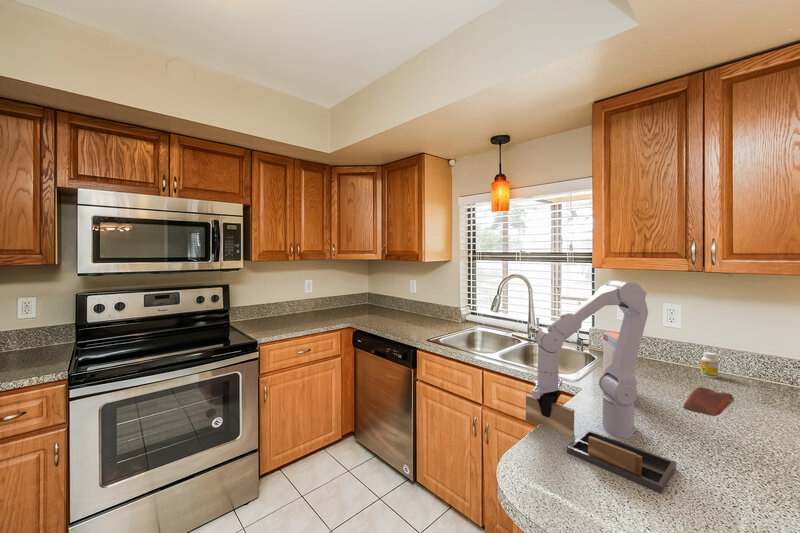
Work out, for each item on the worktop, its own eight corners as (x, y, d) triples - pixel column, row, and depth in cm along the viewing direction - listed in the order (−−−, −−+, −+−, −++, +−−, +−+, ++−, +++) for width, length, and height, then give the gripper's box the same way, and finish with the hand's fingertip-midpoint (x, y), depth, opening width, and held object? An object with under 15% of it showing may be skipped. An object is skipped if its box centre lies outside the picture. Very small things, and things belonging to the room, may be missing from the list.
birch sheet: (528, 419, 109) (528, 394, 108) (574, 437, 98) (574, 409, 98) (525, 420, 108) (525, 395, 107) (571, 439, 97) (572, 411, 97)
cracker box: (635, 398, 123) (636, 340, 122) (616, 397, 124) (617, 339, 124) (618, 383, 137) (619, 331, 136) (601, 382, 138) (602, 330, 137)
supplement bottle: (719, 379, 141) (720, 355, 141) (702, 376, 144) (703, 354, 143) (715, 374, 146) (716, 352, 145) (699, 372, 148) (699, 350, 148)
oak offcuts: (592, 453, 89) (593, 432, 89) (643, 474, 81) (643, 451, 80) (587, 458, 87) (587, 437, 87) (638, 480, 79) (639, 457, 78)
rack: (587, 437, 98) (587, 429, 98) (675, 471, 83) (676, 462, 83) (566, 455, 90) (567, 446, 89) (661, 496, 74) (661, 486, 74)
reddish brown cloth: (697, 389, 133) (697, 384, 133) (733, 397, 125) (733, 393, 125) (677, 408, 116) (677, 404, 116) (717, 420, 108) (717, 415, 108)
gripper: (546, 361, 110) (546, 403, 111) (522, 372, 101) (522, 417, 101) (569, 367, 105) (568, 411, 106) (546, 379, 95) (545, 427, 96)
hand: (547, 415), depth 103 cm, fingers closed on birch sheet
